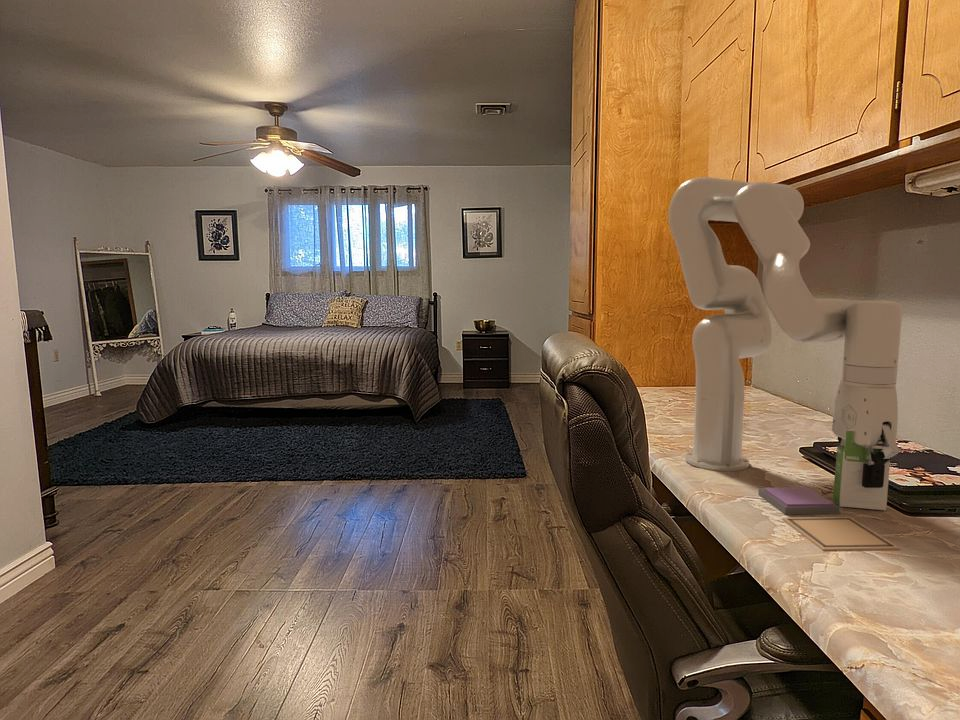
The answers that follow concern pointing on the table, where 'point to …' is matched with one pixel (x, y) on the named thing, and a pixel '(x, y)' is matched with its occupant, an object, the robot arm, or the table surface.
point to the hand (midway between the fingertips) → (860, 480)
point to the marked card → (839, 534)
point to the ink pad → (798, 501)
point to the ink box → (856, 479)
